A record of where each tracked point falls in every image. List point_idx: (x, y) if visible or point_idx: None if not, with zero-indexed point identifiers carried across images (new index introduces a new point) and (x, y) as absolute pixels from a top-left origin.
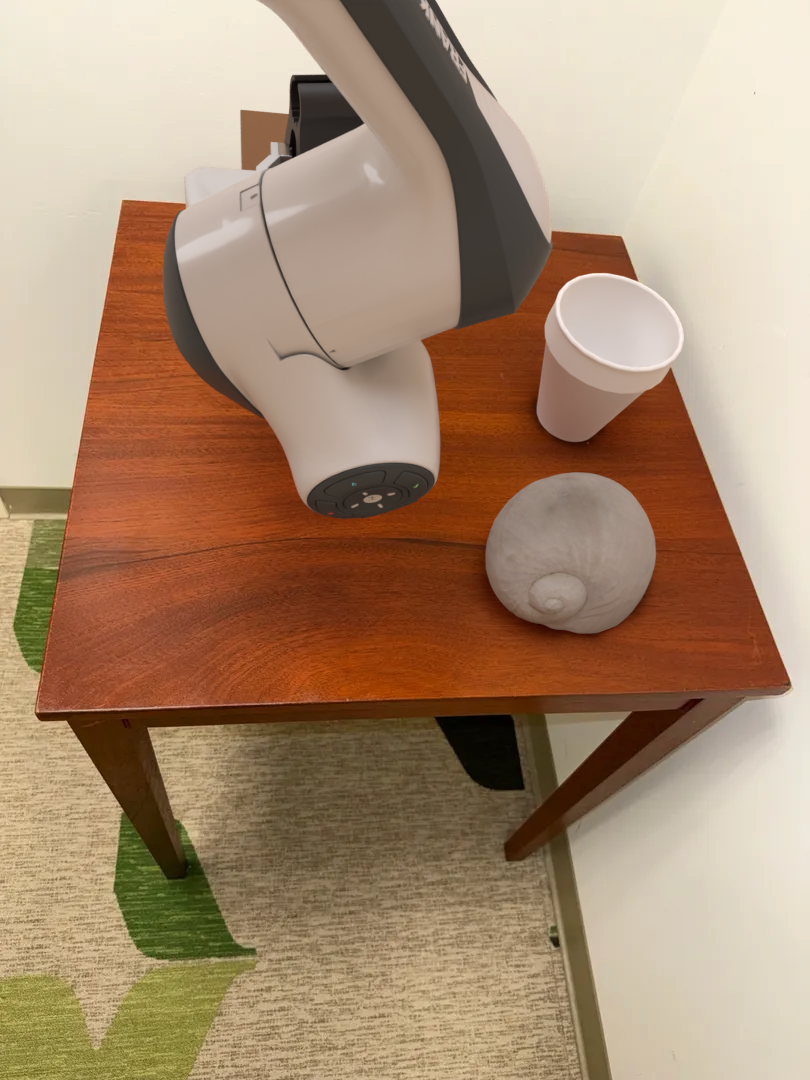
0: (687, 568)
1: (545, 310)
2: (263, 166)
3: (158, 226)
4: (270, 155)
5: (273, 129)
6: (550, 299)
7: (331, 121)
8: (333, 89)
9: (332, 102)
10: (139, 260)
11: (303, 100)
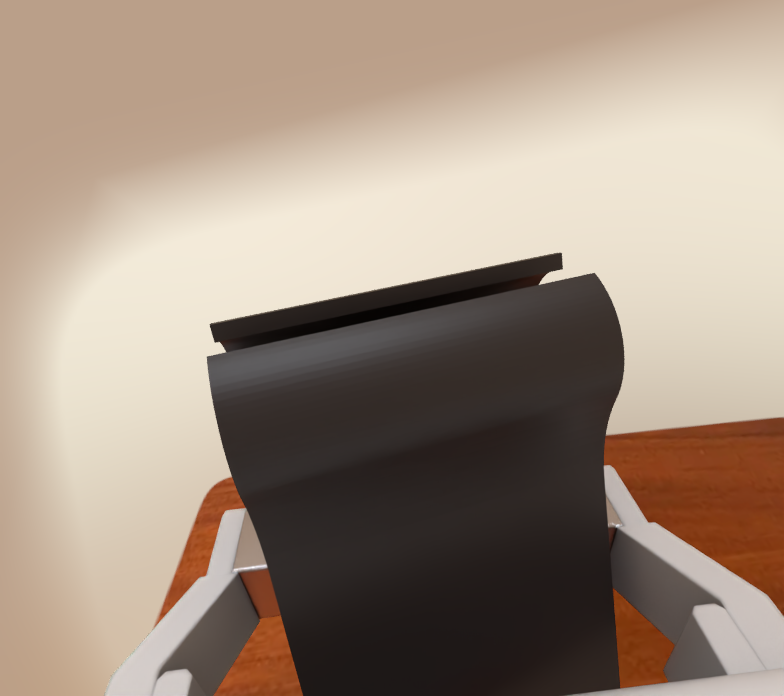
0: None
1: (780, 541)
2: (145, 664)
3: (237, 496)
4: (200, 581)
5: None
6: (775, 519)
7: (389, 467)
8: (376, 346)
9: (378, 401)
10: (203, 553)
11: (231, 426)
